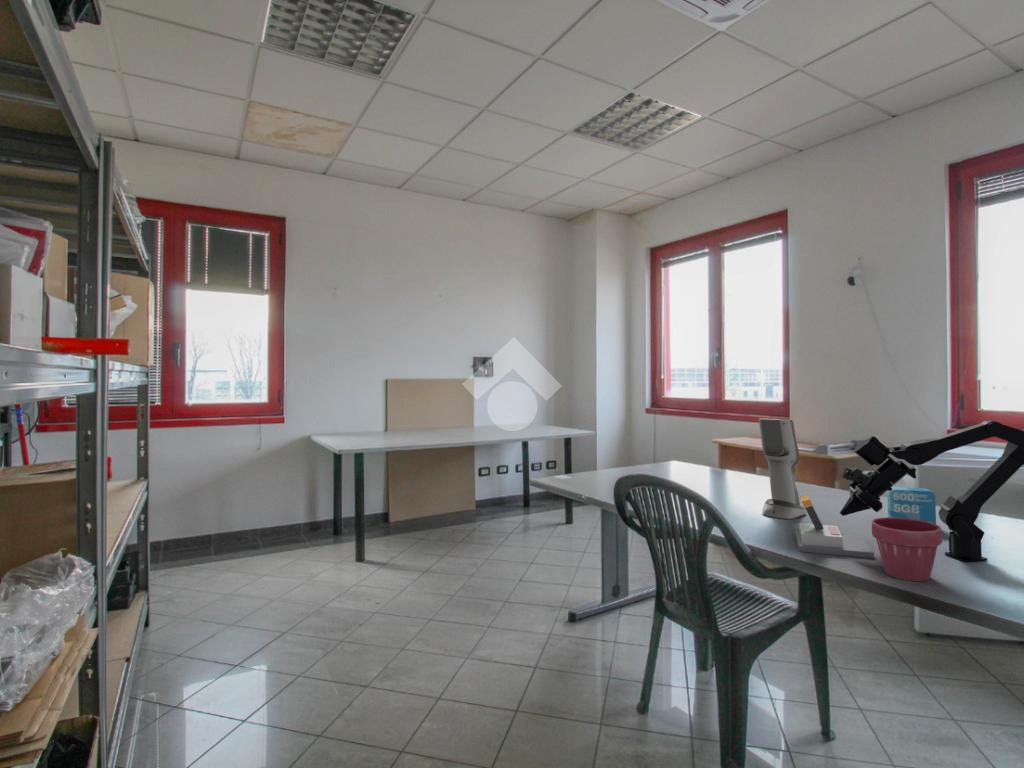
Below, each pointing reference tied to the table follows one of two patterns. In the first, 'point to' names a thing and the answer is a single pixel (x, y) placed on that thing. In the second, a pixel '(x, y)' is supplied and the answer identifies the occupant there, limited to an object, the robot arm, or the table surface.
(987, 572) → the table surface
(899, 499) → the data package
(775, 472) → the handheld scanner
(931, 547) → the plant pot
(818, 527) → the lever
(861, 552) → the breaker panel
